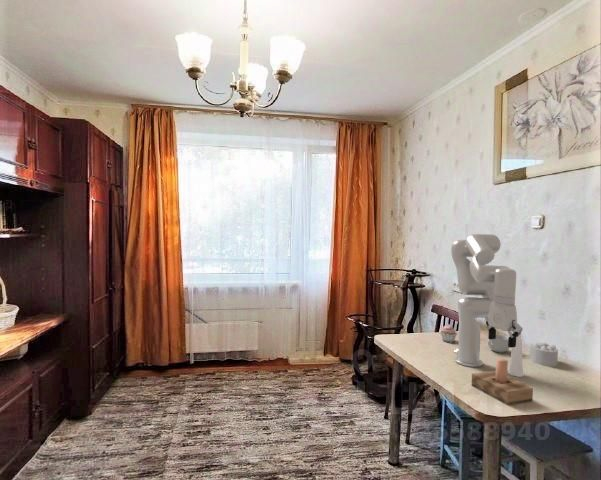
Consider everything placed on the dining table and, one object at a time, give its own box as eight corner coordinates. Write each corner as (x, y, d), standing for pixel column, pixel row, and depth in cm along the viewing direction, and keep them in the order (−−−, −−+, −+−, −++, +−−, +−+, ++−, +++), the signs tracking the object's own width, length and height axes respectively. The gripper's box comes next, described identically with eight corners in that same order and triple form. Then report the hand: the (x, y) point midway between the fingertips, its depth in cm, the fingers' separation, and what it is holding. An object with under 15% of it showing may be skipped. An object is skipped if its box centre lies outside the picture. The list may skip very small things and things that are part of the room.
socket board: (471, 385, 157) (471, 373, 157) (494, 382, 161) (495, 370, 161) (507, 405, 140) (508, 391, 140) (532, 401, 144) (533, 388, 143)
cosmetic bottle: (509, 370, 175) (511, 323, 174) (524, 374, 171) (526, 325, 170) (506, 374, 170) (508, 325, 170) (522, 378, 166) (524, 328, 166)
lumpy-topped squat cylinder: (549, 358, 194) (550, 341, 193) (562, 367, 181) (563, 349, 180) (527, 357, 195) (527, 340, 195) (538, 366, 182) (539, 348, 182)
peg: (492, 389, 152) (493, 359, 151) (500, 387, 153) (501, 358, 152) (500, 393, 148) (502, 362, 147) (509, 392, 149) (510, 361, 149)
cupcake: (436, 338, 225) (437, 321, 225) (451, 338, 226) (452, 321, 226) (444, 343, 216) (444, 325, 215) (460, 343, 217) (460, 325, 216)
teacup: (498, 347, 211) (498, 332, 211) (514, 353, 201) (515, 338, 201) (478, 349, 207) (478, 334, 207) (494, 355, 196) (494, 340, 196)
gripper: (479, 296, 156) (477, 337, 157) (515, 305, 140) (512, 351, 141) (494, 295, 159) (492, 335, 160) (530, 304, 142) (528, 349, 143)
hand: (501, 342), depth 150 cm, fingers open, 9 cm apart
